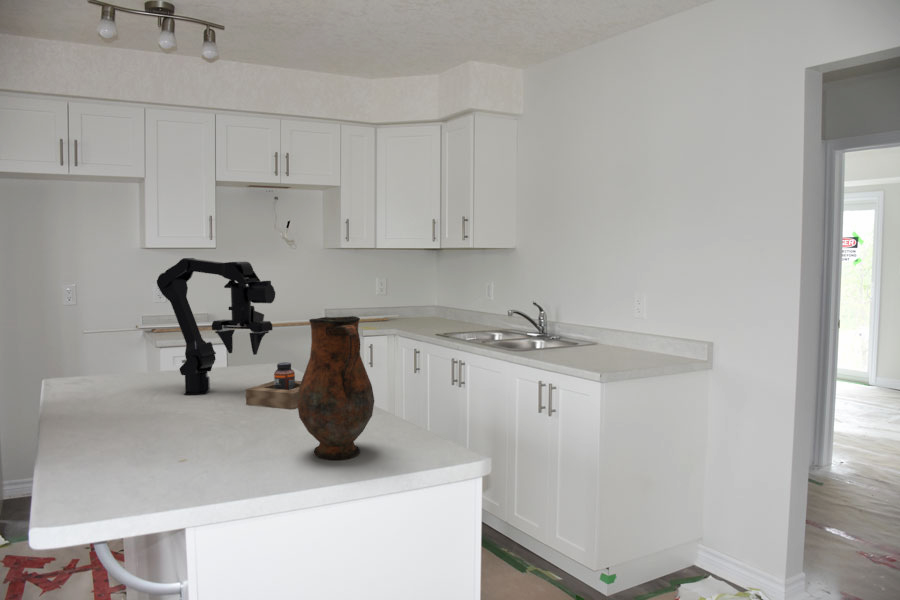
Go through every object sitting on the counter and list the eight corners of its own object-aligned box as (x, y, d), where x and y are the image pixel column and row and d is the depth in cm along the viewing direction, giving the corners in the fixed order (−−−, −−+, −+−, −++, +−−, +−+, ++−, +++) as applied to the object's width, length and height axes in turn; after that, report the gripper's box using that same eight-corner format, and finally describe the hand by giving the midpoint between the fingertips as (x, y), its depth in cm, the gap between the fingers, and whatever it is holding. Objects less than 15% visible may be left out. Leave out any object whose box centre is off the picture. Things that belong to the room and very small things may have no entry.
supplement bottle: (297, 398, 202) (296, 361, 201) (292, 403, 196) (291, 364, 195) (277, 398, 202) (277, 361, 202) (272, 403, 196) (271, 364, 196)
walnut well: (246, 404, 195) (245, 389, 194) (279, 393, 210) (279, 379, 209) (292, 409, 189) (292, 393, 189) (323, 397, 204) (323, 382, 203)
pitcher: (358, 438, 159) (356, 312, 157) (394, 462, 141) (393, 320, 139) (288, 448, 152) (285, 315, 149) (317, 475, 133) (314, 324, 131)
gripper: (282, 301, 208) (284, 351, 209) (234, 300, 215) (235, 348, 217) (259, 304, 198) (261, 356, 199) (209, 303, 205) (211, 353, 206)
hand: (242, 353), depth 206 cm, fingers open, 9 cm apart
